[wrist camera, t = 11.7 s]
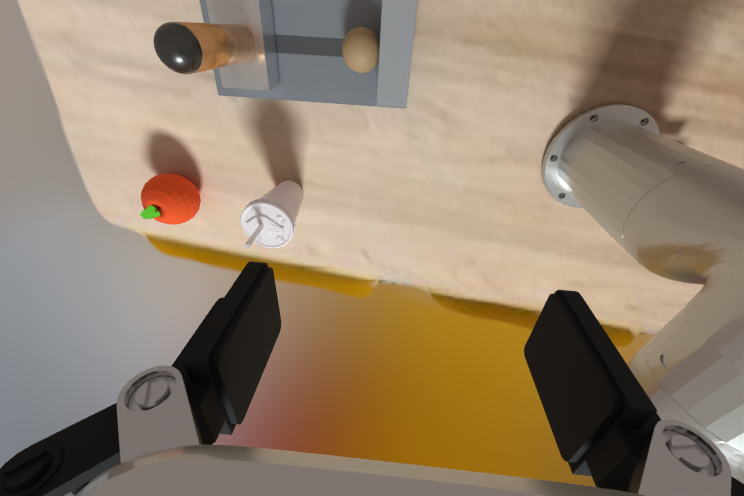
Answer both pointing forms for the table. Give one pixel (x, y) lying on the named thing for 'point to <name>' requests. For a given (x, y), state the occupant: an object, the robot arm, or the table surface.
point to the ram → (225, 44)
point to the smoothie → (273, 216)
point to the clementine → (170, 199)
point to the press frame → (339, 52)
